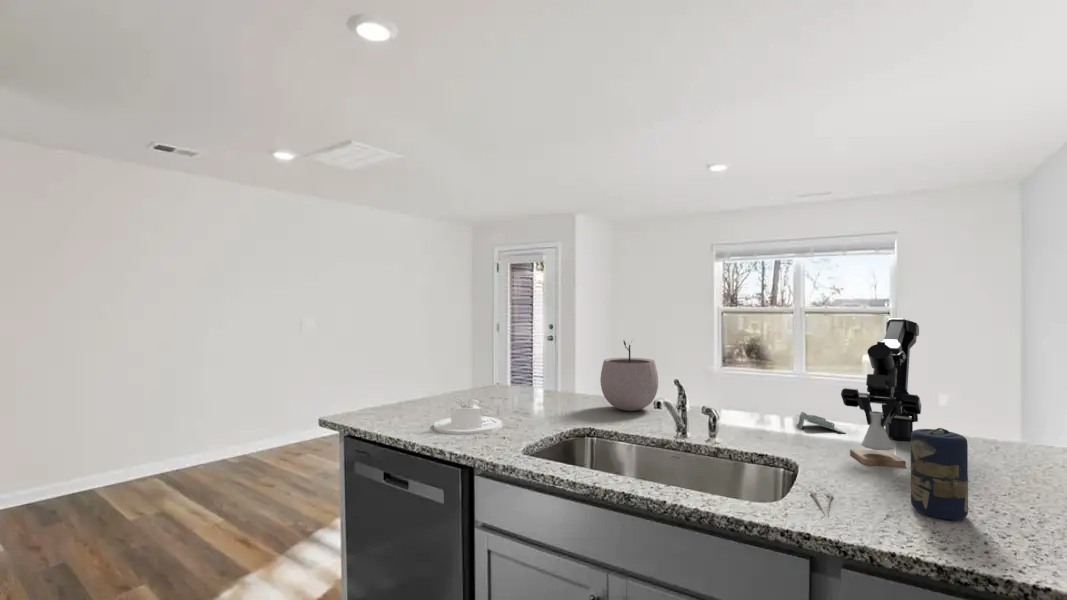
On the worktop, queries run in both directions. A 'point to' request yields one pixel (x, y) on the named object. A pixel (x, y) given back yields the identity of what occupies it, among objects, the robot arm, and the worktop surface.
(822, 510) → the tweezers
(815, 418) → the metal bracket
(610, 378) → the plant pot
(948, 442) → the canister
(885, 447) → the flask
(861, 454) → the walnut board
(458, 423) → the dish
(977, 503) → the worktop surface
